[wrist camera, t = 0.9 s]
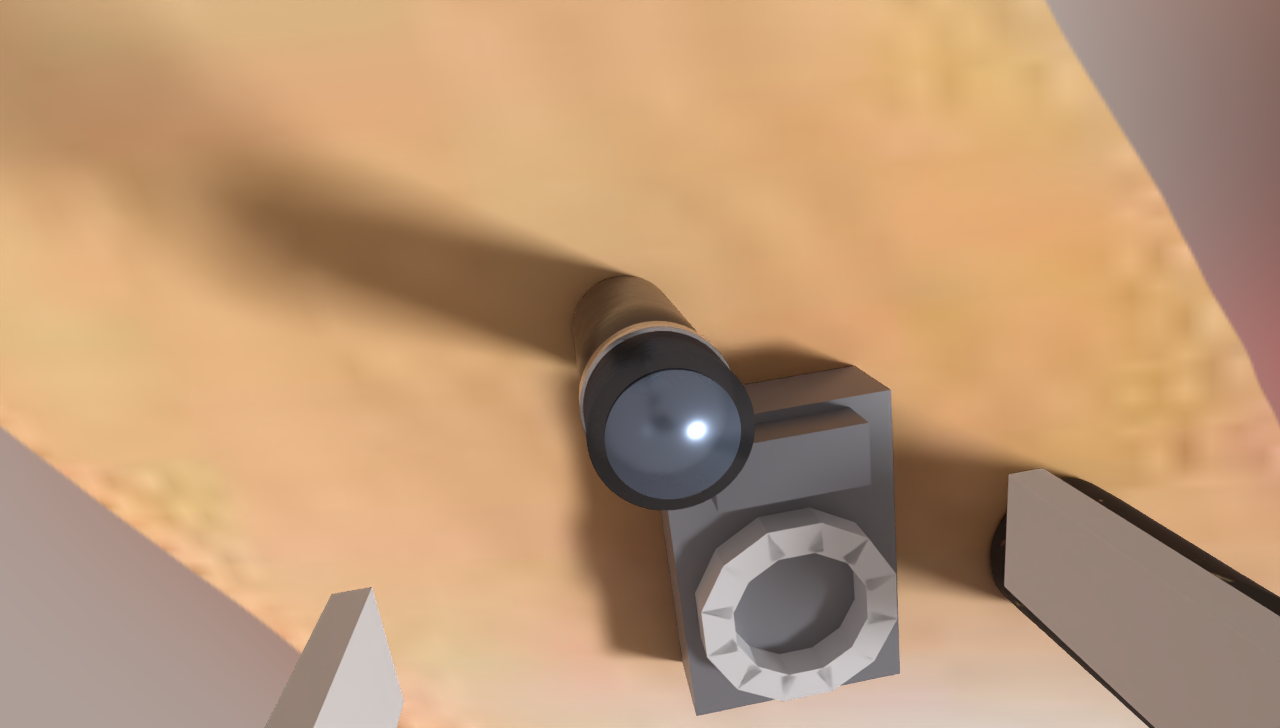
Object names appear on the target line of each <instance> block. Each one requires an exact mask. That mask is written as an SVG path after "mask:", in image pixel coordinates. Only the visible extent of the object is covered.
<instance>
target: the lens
mask: <svg viewBox="0 0 1280 728" xmlns="http://www.w3.org/2000/svg"><path fill="white" fill-rule="evenodd" d="M573 337H574V345H575V353H576V360H577V368H578V376H579V384H580V387H579V407H580V415H581V421H582V425H583V429H584V431H585V434H586V438H587V446H588V451H589V455H590V459H591V461H592V464H593V466H594V469H595V470H596V472H597V474H598V475H599V477H600V478H601V480H602V481H603V482H604V483H605V485H606V486H607V487H608V488H609V489H610V490H612V491H613V492H614V493H615V494H617V495H618V496H619V497H621V498H622V499H624V500H626V501H628V502H630V503H632V504H634V505H637V506H640V507H643V508H648V509H653V510H679V509H684V508H689V507H693V506H695V505H698V504H701V503H703V502H705V501H707V500H709V499H711V498H713V497H714V496H716V495H717V494H719V493H720V492H722V491H723V490H724V489H725V488H726V487H727V486H729V485H730V484H731V483H732V481H733V480H734V479H735V478H736V477H737V476H738V474H739V473H740V472H741V470H742V469H743V467H744V465H745V463H746V462H747V460H748V457H749V455H750V452H751V450H752V446H753V442H754V436H755V416H754V410H753V406H752V403H751V400H750V397H749V395H748V393H747V391H746V389H745V388H744V386H743V385H742V383H741V382H740V380H739V379H738V378H737V377H736V376H735V375H734V374H733V372H732V371H731V370H730V368H729V366H728V364H727V362H726V361H725V359H724V358H723V356H722V355H721V354H720V353H719V352H718V351H717V350H716V348H715V347H714V346H713V345H712V344H711V343H710V342H709V341H708V340H707V339H706V338H705V337H703V336H702V335H701V334H699V333H698V332H697V331H696V330H695V329H694V328H693V327H692V326H691V324H690V323H689V322H688V321H687V320H686V319H685V318H684V316H683V315H682V314H681V313H680V312H679V311H678V310H677V308H676V307H675V306H674V305H673V304H672V303H671V302H670V300H669V299H668V298H667V297H666V296H665V295H664V294H663V292H662V291H661V290H660V289H659V288H657V287H656V286H655V285H654V284H652V283H650V282H649V281H646V280H644V279H642V278H638V277H634V276H615V277H611V278H608V279H605V280H603V281H601V282H599V283H597V284H596V285H594V286H593V287H591V288H590V289H589V290H588V291H587V292H586V293H585V295H584V296H583V297H582V298H581V300H580V302H579V303H578V305H577V308H576V310H575V313H574V318H573Z"/></svg>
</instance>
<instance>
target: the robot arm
mask: <svg viewBox="0 0 1280 728" xmlns="http://www.w3.org/2000/svg"><path fill="white" fill-rule="evenodd" d="M1004 586H1005V587H1006V588H1007V589H1008V590H1009V591H1010V592H1011V593H1012V594H1013V595H1014V596H1015V597H1016V598H1017V599H1018V600H1019V601H1020V602H1022V603H1023V604H1024V605H1025V606H1026V607H1027V608H1028V609H1029V610H1030V611H1031V612H1032V613H1033V614H1034V615H1035V616H1036V617H1038V618H1039V619H1040V620H1041V621H1042V622H1043V623H1044V624H1045V625H1046V626H1047V627H1048V628H1049V629H1050V630H1051V631H1052V632H1053V633H1055V634H1056V635H1057V636H1058V637H1059V638H1060V639H1061V640H1062V641H1063V642H1064V643H1065V644H1066V645H1067V646H1068V647H1069V648H1071V649H1072V650H1073V651H1074V652H1075V653H1076V654H1077V655H1078V656H1079V657H1080V658H1081V659H1082V660H1083V661H1084V662H1085V663H1087V664H1088V665H1089V666H1090V667H1091V668H1092V669H1093V670H1094V671H1095V672H1096V673H1097V674H1098V675H1099V676H1100V677H1101V678H1102V679H1104V680H1105V681H1106V682H1107V683H1108V684H1109V685H1110V686H1111V687H1112V688H1113V689H1114V690H1115V691H1116V692H1117V693H1118V694H1120V695H1121V696H1122V697H1123V698H1124V699H1125V700H1126V701H1127V702H1128V703H1129V704H1130V705H1131V706H1132V707H1133V708H1134V709H1136V710H1137V711H1138V712H1139V713H1140V714H1141V715H1142V716H1143V717H1144V718H1145V719H1146V720H1147V721H1148V722H1149V723H1150V724H1151V725H1153V726H1154V727H1155V728H1280V598H1278V597H1276V596H1273V595H1271V594H1268V593H1266V592H1263V591H1260V590H1258V589H1255V588H1253V587H1250V586H1248V585H1245V584H1242V583H1240V582H1237V581H1233V582H1228V583H1226V582H1224V581H1222V580H1221V579H1219V578H1218V577H1216V576H1214V575H1213V574H1211V573H1210V572H1208V571H1206V570H1205V569H1203V568H1202V567H1200V566H1198V565H1197V564H1195V563H1194V562H1192V561H1190V560H1189V559H1187V558H1186V557H1184V556H1182V555H1181V554H1179V553H1178V552H1176V551H1174V550H1173V549H1171V548H1170V547H1168V546H1166V545H1165V544H1163V543H1162V542H1160V541H1158V540H1157V539H1155V538H1154V537H1152V536H1151V535H1149V534H1147V533H1146V532H1144V531H1143V530H1141V529H1139V528H1138V527H1136V526H1135V525H1133V524H1131V523H1130V522H1128V521H1127V520H1125V519H1123V518H1122V517H1120V516H1119V515H1117V514H1115V513H1114V512H1112V511H1111V510H1109V509H1107V508H1106V507H1104V506H1103V505H1101V504H1099V503H1098V502H1096V501H1095V500H1093V499H1091V498H1090V497H1088V496H1087V495H1085V494H1083V493H1082V492H1080V491H1079V490H1077V489H1075V488H1074V487H1072V486H1071V485H1069V484H1067V483H1066V482H1064V481H1063V480H1061V479H1059V478H1058V477H1056V476H1055V475H1053V474H1051V473H1050V472H1048V471H1047V470H1045V469H1043V468H1041V469H1035V470H1029V471H1024V472H1018V473H1013V474H1009V478H1008V503H1007V528H1006V552H1005V577H1004ZM403 703H404V700H403V696H402V692H401V689H400V685H399V682H398V678H397V675H396V671H395V667H394V664H393V660H392V657H391V653H390V650H389V646H388V642H387V639H386V635H385V632H384V628H383V624H382V621H381V617H380V614H379V610H378V607H377V603H376V599H375V596H374V592H373V589H372V587H369V588H364V589H358V590H352V591H347V592H341V593H335V594H331V596H330V598H329V600H328V602H327V604H326V606H325V608H324V610H323V612H322V614H321V616H320V618H319V620H318V622H317V624H316V626H315V628H314V630H313V632H312V634H311V636H310V638H309V640H308V642H307V644H306V646H305V648H304V650H303V652H302V654H301V657H300V658H299V660H298V662H297V664H296V666H295V668H294V670H293V672H292V674H291V676H290V678H289V681H288V682H287V684H286V686H285V688H284V690H283V692H282V694H281V696H280V698H279V700H278V702H277V704H276V706H275V708H274V710H273V712H272V714H271V716H270V718H269V720H268V722H267V724H266V726H265V728H397V725H398V721H399V717H400V714H401V710H402V706H403Z"/></svg>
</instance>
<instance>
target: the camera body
mask: <svg viewBox="0 0 1280 728" xmlns="http://www.w3.org/2000/svg"><path fill="white" fill-rule="evenodd" d="M743 386H744V388H745V389H746V391H747V393H748V395H749V397H750V400H751V403H752V406H753V410H754V416H755V436H754V442H753V446H752V450H751V452H750V455H749V457H748V460H747V462H746V463H745V465H744V467H743V469H742V470H741V472H740V473H739V474H738V476H737V477H736V478H735V479H734V480H733V481H732V483H731V484H730V485H729V486H727V487H726V488H725V489H724V490H723V491H722V492H720V493H719V494H717V495H716V496H714V497H713V498H711V499H709V500H707V501H705V502H703V503H701V504H698V505H695V506H693V507H689V508H684V509H679V510H661V516H662V523H663V530H664V537H665V544H666V551H667V558H668V564H669V571H670V578H671V585H672V592H673V599H674V606H675V613H676V620H677V627H678V634H679V641H680V648H681V655H682V662H683V666H684V670H685V674H686V678H687V681H688V685H689V689H690V693H691V697H692V700H693V704H694V708H695V712H696V716H699V715H703V714H708V713H713V712H718V711H722V710H727V709H732V708H737V707H742V706H746V705H751V704H756V703H761V702H765V701H770V700H775V699H776V700H780V701H787V700H792V699H797V698H802V697H806V696H811V695H816V694H821V693H825V692H830V691H833V690H835V689H836V688H838V687H839V686H842V685H847V684H851V683H856V682H861V681H866V680H870V679H875V678H880V677H885V676H889V675H894V674H899V673H900V661H899V630H898V598H897V567H896V535H895V503H894V472H893V440H892V409H891V390H890V389H889V388H887V387H886V386H884V385H883V384H881V383H880V382H878V381H877V380H875V379H874V378H872V377H871V376H869V375H868V374H866V373H865V372H863V371H862V370H860V369H859V368H857V367H856V366H850V367H844V368H838V369H833V370H827V371H821V372H815V373H809V374H804V375H798V376H792V377H786V378H780V379H774V380H769V381H763V382H757V383H751V384H745V385H743Z"/></svg>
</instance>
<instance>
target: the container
mask: <svg viewBox="0 0 1280 728" xmlns="http://www.w3.org/2000/svg"><path fill="white" fill-rule="evenodd" d="M1061 480H1063V481H1064V482H1066V483H1067V484H1069V485H1071V486H1072V487H1074V488H1075V489H1077V490H1079V491H1080V492H1082V493H1083V494H1085V495H1087V496H1088V497H1090V498H1091V499H1093V500H1095V501H1096V502H1098V503H1099V504H1101V505H1103V506H1104V507H1106V508H1107V509H1109V510H1111V511H1112V512H1114V513H1115V514H1117V515H1119V516H1120V517H1122V518H1123V519H1125V520H1127V521H1128V522H1130V523H1131V524H1133V525H1135V526H1136V527H1138V528H1139V529H1141V530H1143V531H1144V532H1146V533H1147V534H1149V535H1151V536H1152V537H1154V538H1155V539H1157V540H1158V541H1160V542H1162V543H1163V544H1165V545H1166V546H1168V547H1170V548H1171V549H1173V550H1174V551H1176V552H1178V553H1179V554H1181V555H1182V556H1184V557H1186V558H1187V559H1189V560H1190V561H1192V562H1194V563H1195V564H1197V565H1198V566H1200V567H1202V568H1203V569H1205V570H1206V571H1208V572H1210V573H1211V574H1213V575H1214V576H1216V577H1218V578H1219V579H1221V580H1222V581H1224V582H1226V583H1228V582H1233V581H1237V582H1240V583H1242V584H1245V585H1248V586H1250V587H1253V588H1255V589H1258V590H1260V591H1263V592H1266V593H1268V594H1271V595H1273V596H1276V597H1278V598H1280V597H1279V596H1277V595H1275V594H1274V593H1272V592H1270V591H1269V590H1267V589H1265V588H1264V587H1262V586H1260V585H1259V584H1257V583H1255V582H1254V581H1252V580H1251V579H1249V578H1247V577H1246V576H1244V575H1242V574H1240V573H1239V572H1237V571H1236V570H1234V569H1232V568H1231V567H1229V566H1228V565H1226V564H1224V563H1223V562H1221V561H1219V560H1218V559H1216V558H1215V557H1213V556H1211V555H1210V554H1208V553H1207V552H1205V551H1203V550H1202V549H1200V548H1198V547H1197V546H1195V545H1194V544H1192V543H1190V542H1189V541H1187V540H1185V539H1184V538H1182V537H1181V536H1179V535H1177V534H1176V533H1174V532H1172V531H1171V530H1169V529H1167V528H1166V527H1164V526H1162V525H1161V524H1159V523H1158V522H1156V521H1154V520H1153V519H1151V518H1149V517H1148V516H1146V515H1145V514H1143V513H1141V512H1140V511H1138V510H1137V509H1135V508H1133V507H1132V506H1130V505H1129V504H1127V503H1125V502H1124V501H1122V500H1120V499H1119V498H1117V497H1115V496H1113V495H1112V494H1110V493H1108V492H1106V491H1105V490H1103V489H1101V488H1099V487H1097V486H1096V485H1094V484H1092V483H1089V482H1087V481H1084V480H1079V479H1070V478H1067V479H1061ZM1006 528H1007V514H1006V516H1005V517H1004V519H1003V521H1002V522H1001V524H1000V526H999V528H998V530H997V532H996V534H995V537H994V540H993V544H992V548H991V569H992V575H993V578H994V581H995V583H996V585H997V587H998V588H999V590H1000V591H1001V592H1002V593H1003V594H1004V595H1005V596H1006V597H1007V598H1008V599H1009V600H1010V601H1011V602H1012V603H1013V604H1014V605H1015V606H1016V607H1017V608H1018V609H1019V610H1020V611H1021V612H1022V613H1023V614H1025V615H1026V616H1027V617H1028V618H1029V619H1030V620H1031V621H1032V622H1034V623H1035V624H1036V625H1037V626H1038V627H1039V628H1040V629H1041V630H1042V631H1044V632H1045V633H1046V634H1047V635H1048V636H1049V637H1050V638H1051V639H1053V640H1054V641H1055V642H1056V643H1057V644H1058V645H1059V646H1060V647H1061V648H1062V649H1063V650H1065V651H1066V652H1067V653H1068V654H1069V655H1070V656H1071V657H1072V658H1073V659H1074V660H1075V661H1077V662H1078V663H1079V664H1080V665H1081V666H1082V667H1083V668H1084V669H1085V670H1086V671H1088V672H1089V673H1090V674H1091V675H1092V676H1093V677H1094V678H1095V679H1096V680H1097V681H1099V682H1100V683H1101V684H1102V685H1103V686H1104V687H1105V688H1106V689H1107V690H1109V691H1110V692H1111V693H1112V694H1113V695H1114V696H1115V697H1116V698H1117V699H1119V700H1120V701H1121V702H1122V703H1123V704H1124V705H1125V706H1126V707H1127V708H1128V709H1129V710H1131V711H1132V712H1133V713H1134V714H1135V715H1136V716H1137V717H1138V718H1139V719H1140V720H1142V721H1143V722H1144V723H1145V724H1146V725H1147V726H1148V727H1149V728H1155V727H1154V726H1153V725H1151V724H1150V723H1149V722H1148V721H1147V720H1146V719H1145V718H1144V717H1143V716H1142V715H1141V714H1140V713H1139V712H1138V711H1137V710H1136V709H1134V708H1133V707H1132V706H1131V705H1130V704H1129V703H1128V702H1127V701H1126V700H1125V699H1124V698H1123V697H1122V696H1121V695H1120V694H1118V693H1117V692H1116V691H1115V690H1114V689H1113V688H1112V687H1111V686H1110V685H1109V684H1108V683H1107V682H1106V681H1105V680H1104V679H1102V678H1101V677H1100V676H1099V675H1098V674H1097V673H1096V672H1095V671H1094V670H1093V669H1092V668H1091V667H1090V666H1089V665H1088V664H1087V663H1085V662H1084V661H1083V660H1082V659H1081V658H1080V657H1079V656H1078V655H1077V654H1076V653H1075V652H1074V651H1073V650H1072V649H1071V648H1069V647H1068V646H1067V645H1066V644H1065V643H1064V642H1063V641H1062V640H1061V639H1060V638H1059V637H1058V636H1057V635H1056V634H1055V633H1053V632H1052V631H1051V630H1050V629H1049V628H1048V627H1047V626H1046V625H1045V624H1044V623H1043V622H1042V621H1041V620H1040V619H1039V618H1038V617H1036V616H1035V615H1034V614H1033V613H1032V612H1031V611H1030V610H1029V609H1028V608H1027V607H1026V606H1025V605H1024V604H1023V603H1022V602H1020V601H1019V600H1018V599H1017V598H1016V597H1015V596H1014V595H1013V594H1012V593H1011V592H1010V591H1009V590H1008V589H1007V588H1006V587H1005V586H1004V577H1005V552H1006Z"/></svg>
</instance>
